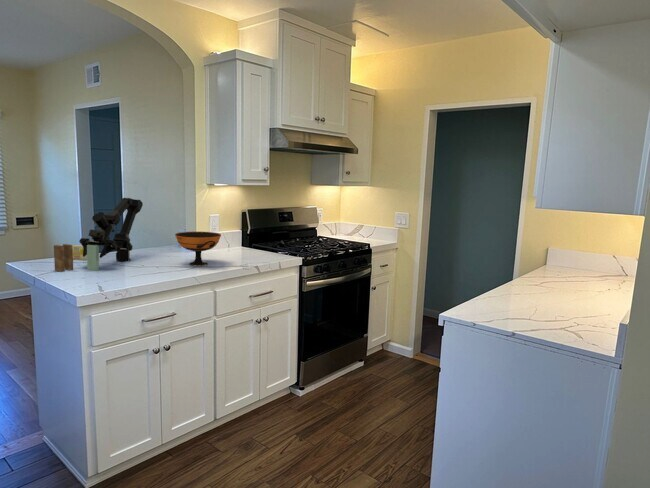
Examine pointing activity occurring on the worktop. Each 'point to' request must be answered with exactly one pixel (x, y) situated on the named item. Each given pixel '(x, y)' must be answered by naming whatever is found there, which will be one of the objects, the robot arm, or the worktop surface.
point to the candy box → (79, 253)
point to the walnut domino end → (59, 258)
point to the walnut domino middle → (68, 257)
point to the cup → (198, 243)
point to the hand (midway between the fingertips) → (91, 256)
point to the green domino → (92, 257)
